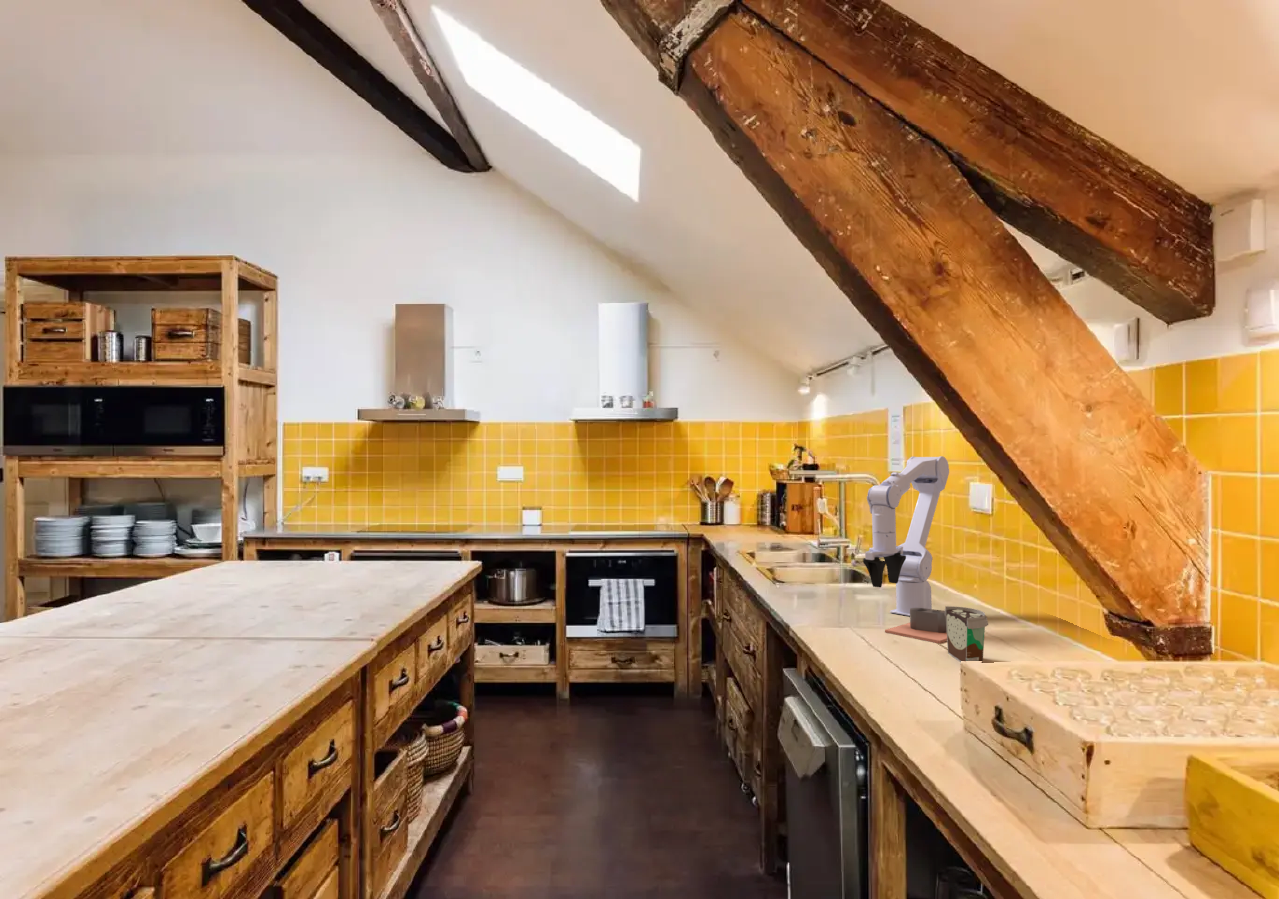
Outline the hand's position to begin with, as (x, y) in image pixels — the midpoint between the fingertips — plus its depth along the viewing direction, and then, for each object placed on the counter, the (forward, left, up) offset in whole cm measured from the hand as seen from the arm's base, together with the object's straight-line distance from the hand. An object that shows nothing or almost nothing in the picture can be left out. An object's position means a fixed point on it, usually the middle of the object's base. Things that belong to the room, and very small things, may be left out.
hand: (885, 585), depth 190 cm
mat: (+2, +13, -9) cm, 16 cm away
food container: (+17, +31, -10) cm, 37 cm away
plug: (+2, +13, -9) cm, 16 cm away
